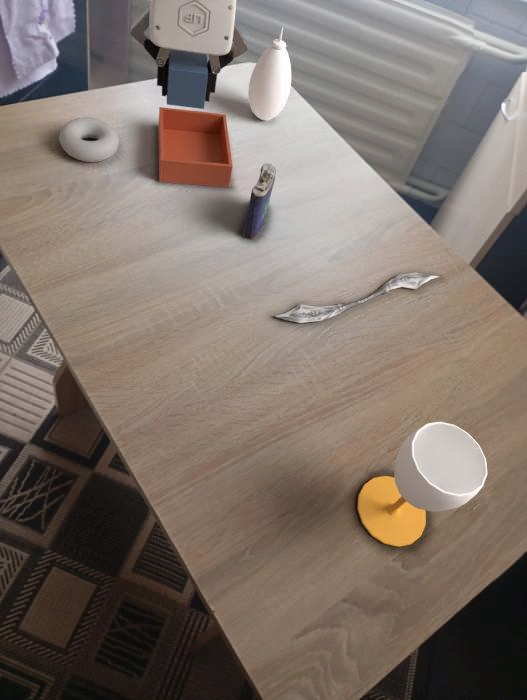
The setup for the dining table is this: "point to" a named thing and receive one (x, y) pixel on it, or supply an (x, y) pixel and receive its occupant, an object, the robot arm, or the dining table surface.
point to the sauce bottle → (270, 81)
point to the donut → (89, 149)
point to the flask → (259, 202)
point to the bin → (194, 148)
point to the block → (187, 79)
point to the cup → (422, 483)
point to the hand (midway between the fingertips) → (185, 91)
